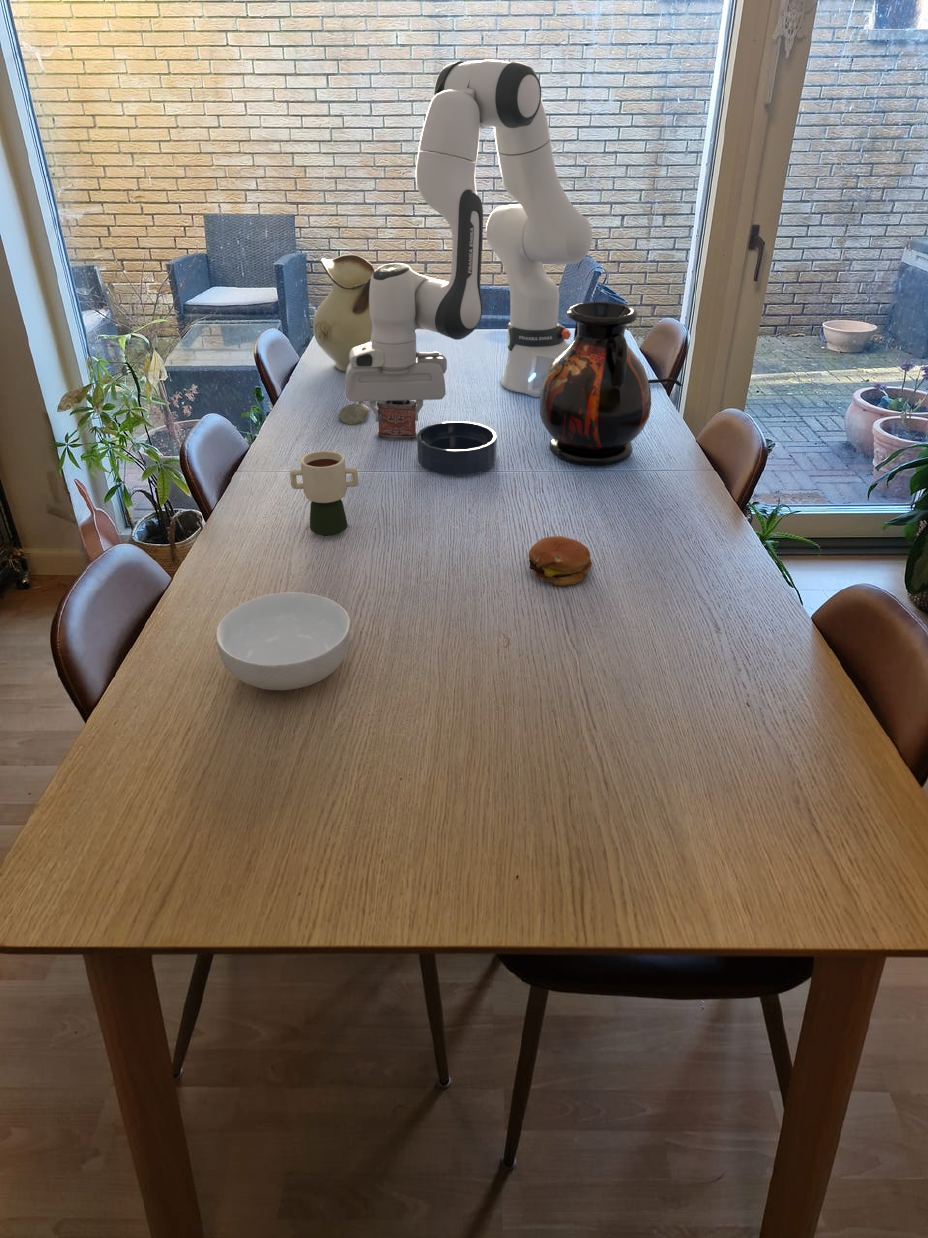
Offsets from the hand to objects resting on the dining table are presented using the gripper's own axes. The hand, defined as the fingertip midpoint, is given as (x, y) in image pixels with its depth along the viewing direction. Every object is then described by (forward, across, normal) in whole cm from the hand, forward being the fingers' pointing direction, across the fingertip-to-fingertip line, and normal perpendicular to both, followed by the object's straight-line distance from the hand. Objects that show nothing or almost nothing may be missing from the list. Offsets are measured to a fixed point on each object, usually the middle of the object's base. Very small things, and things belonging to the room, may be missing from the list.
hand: (396, 420), depth 182 cm
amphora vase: (+4, -38, +12) cm, 40 cm away
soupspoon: (+4, +7, -19) cm, 21 cm away
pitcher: (+4, +7, -49) cm, 50 cm away
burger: (+4, -23, +58) cm, 63 cm away
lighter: (+4, 0, 0) cm, 4 cm away
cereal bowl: (+4, +17, +80) cm, 82 cm away
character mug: (+4, +13, +41) cm, 43 cm away
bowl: (+4, -11, +14) cm, 18 cm away
